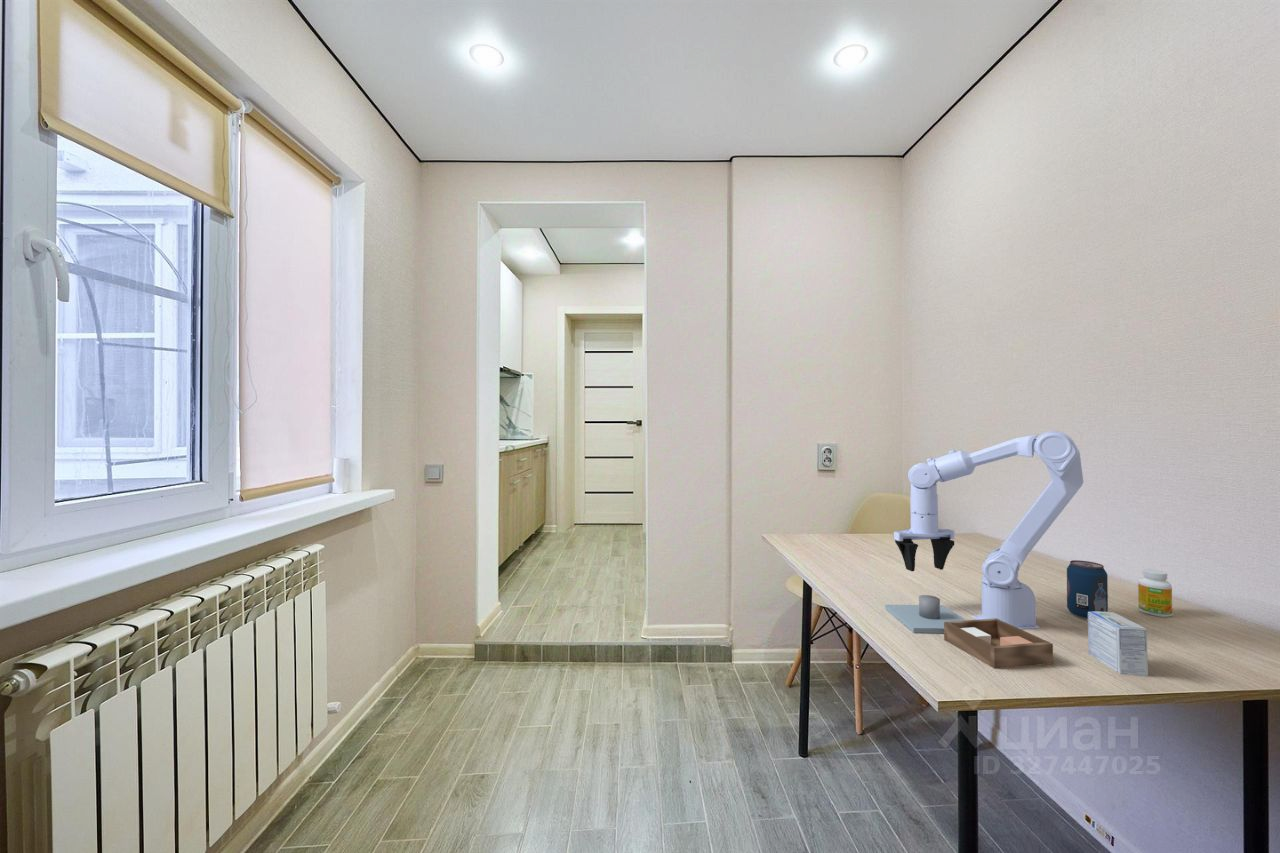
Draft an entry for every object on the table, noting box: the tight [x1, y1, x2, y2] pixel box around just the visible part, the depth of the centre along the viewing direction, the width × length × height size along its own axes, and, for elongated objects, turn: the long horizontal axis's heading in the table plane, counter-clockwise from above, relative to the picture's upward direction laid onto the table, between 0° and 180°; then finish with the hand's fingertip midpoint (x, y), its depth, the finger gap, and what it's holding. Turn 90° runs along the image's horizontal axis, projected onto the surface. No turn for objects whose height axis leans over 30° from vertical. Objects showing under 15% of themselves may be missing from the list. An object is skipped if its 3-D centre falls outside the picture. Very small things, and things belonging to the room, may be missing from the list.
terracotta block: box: [1000, 636, 1032, 646], centre depth 92 cm, size 4×4×3 cm
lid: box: [884, 594, 967, 634], centre depth 109 cm, size 14×14×6 cm
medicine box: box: [1087, 611, 1149, 677], centre depth 89 cm, size 8×4×9 cm, turn 168°
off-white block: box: [960, 627, 991, 644], centre depth 97 cm, size 4×4×3 cm
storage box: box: [943, 618, 1054, 670], centre depth 94 cm, size 12×12×4 cm
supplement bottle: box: [1137, 568, 1173, 618], centre depth 113 cm, size 5×5×10 cm
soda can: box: [1066, 559, 1109, 621], centre depth 112 cm, size 7×7×12 cm
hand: (924, 569), depth 118 cm, fingers open, 7 cm apart
